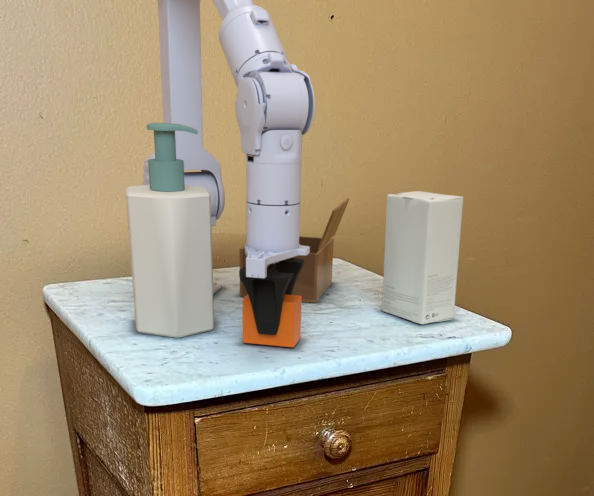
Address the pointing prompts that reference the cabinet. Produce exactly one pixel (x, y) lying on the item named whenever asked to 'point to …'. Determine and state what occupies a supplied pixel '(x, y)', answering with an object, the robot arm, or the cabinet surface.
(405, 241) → the cosmetic box
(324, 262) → the carton
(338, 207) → the flap
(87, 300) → the cabinet surface
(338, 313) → the cabinet surface
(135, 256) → the soap bottle
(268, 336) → the block
